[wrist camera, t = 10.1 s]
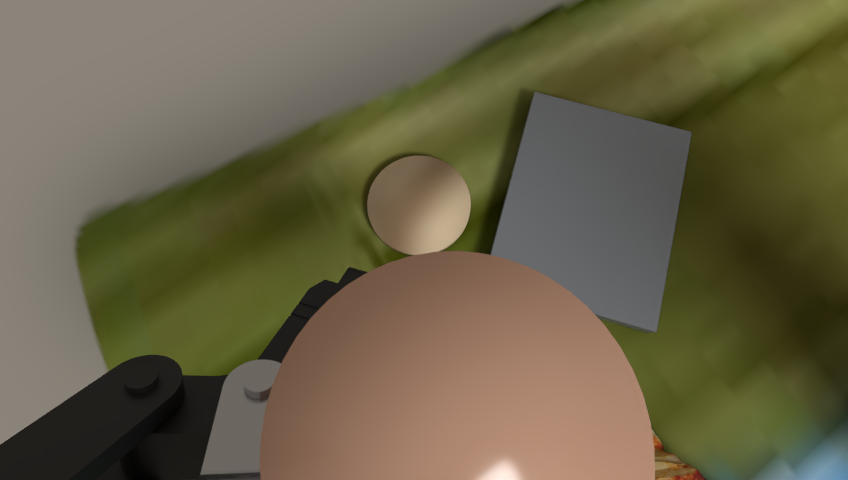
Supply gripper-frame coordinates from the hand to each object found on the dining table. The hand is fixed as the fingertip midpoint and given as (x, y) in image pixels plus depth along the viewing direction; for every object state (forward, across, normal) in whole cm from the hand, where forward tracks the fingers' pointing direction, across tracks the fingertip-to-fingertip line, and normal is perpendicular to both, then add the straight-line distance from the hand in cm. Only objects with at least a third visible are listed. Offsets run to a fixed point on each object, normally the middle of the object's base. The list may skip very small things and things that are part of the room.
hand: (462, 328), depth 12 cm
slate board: (+21, -7, +5) cm, 22 cm away
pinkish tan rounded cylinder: (+2, 0, +4) cm, 5 cm away
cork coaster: (+18, +4, +7) cm, 20 cm away
